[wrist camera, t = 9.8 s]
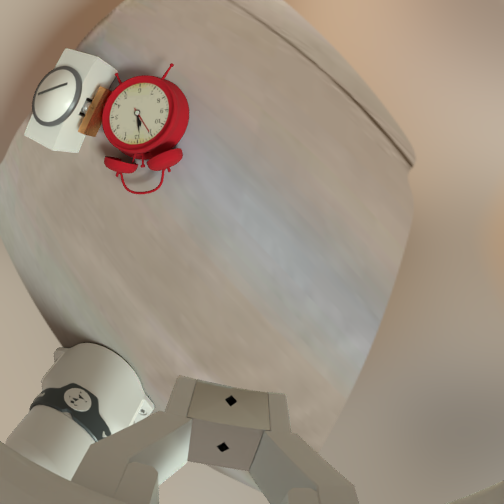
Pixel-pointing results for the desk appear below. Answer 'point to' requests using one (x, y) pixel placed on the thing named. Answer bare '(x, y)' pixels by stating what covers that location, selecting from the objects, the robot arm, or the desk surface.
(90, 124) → the wooden handled metal scraper
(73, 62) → the dial gauge
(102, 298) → the desk surface
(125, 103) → the alarm clock
